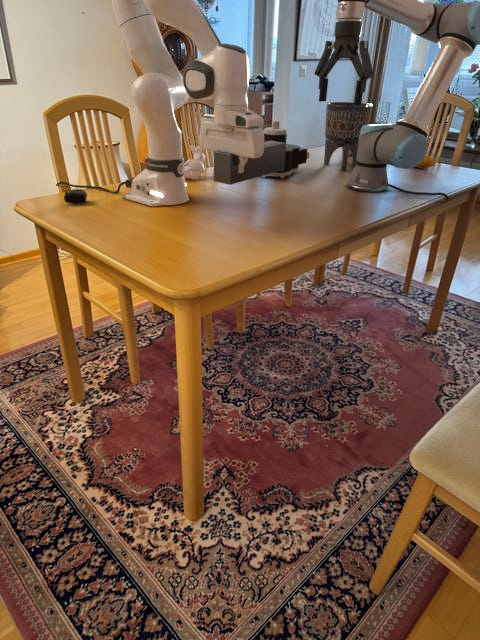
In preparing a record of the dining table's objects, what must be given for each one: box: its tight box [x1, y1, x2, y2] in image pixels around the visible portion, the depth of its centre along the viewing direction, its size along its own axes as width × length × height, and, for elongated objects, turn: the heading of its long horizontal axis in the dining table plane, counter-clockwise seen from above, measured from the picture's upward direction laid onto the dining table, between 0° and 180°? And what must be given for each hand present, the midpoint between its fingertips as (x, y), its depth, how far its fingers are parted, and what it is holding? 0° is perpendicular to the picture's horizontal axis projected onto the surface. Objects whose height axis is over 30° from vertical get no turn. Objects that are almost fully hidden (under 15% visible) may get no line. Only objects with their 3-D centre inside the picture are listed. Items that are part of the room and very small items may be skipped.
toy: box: [415, 154, 437, 169], centre depth 213 cm, size 11×6×15 cm
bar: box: [213, 141, 287, 186], centre depth 132 cm, size 27×6×8 cm, turn 141°
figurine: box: [184, 144, 206, 180], centre depth 182 cm, size 8×15×13 cm, turn 145°
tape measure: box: [63, 188, 88, 205], centre depth 151 cm, size 7×7×4 cm
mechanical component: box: [261, 120, 311, 179], centre depth 191 cm, size 22×21×30 cm
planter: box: [323, 101, 374, 172], centre depth 204 cm, size 20×20×26 cm
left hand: (229, 170), depth 126 cm, fingers closed on bar, 6 cm apart
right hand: (339, 103), depth 140 cm, fingers open, 13 cm apart
